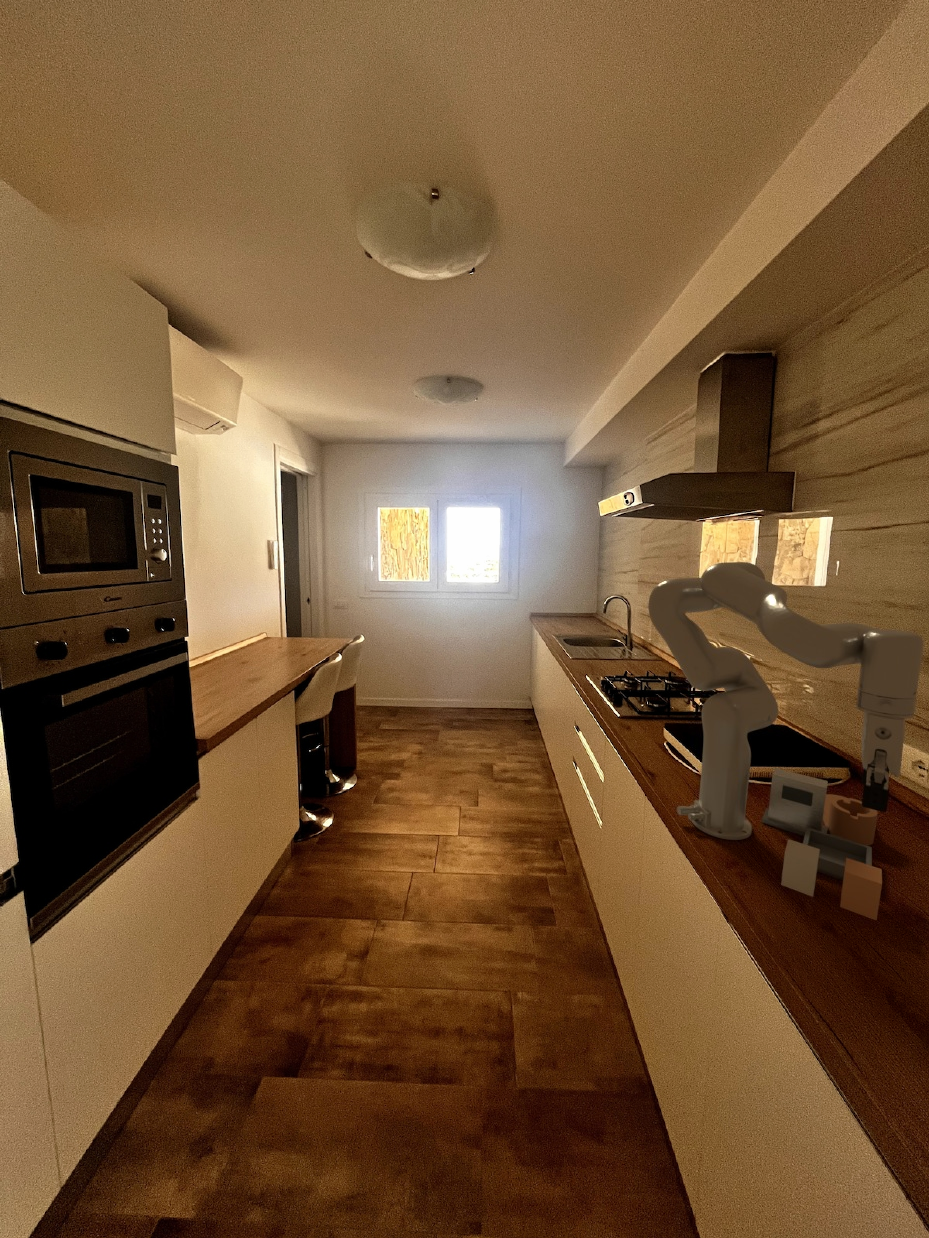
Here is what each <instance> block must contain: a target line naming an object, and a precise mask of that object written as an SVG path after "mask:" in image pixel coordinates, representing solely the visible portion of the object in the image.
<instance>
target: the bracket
mask: <svg viewBox="0 0 929 1238" xmlns="http://www.w3.org/2000/svg"><path fill="white" fill-rule="evenodd" d="M878 812H879V811H877V810H873V809H869V808H865V807H863V806H862V800H859V799H855V798H851V797H849V798H848V797H846V796H842V795H838V794H832V793H831V794H830V793H829V794H828V793H826V799H825V807H824V815H823V823H824V824H823V825H825V826H828V828H827V833H828V834H830V835H833V836H837V837H840V838H843V839H847V840H850V841H853V842H856V843H860V844H863V845H866V846H872V845H873V844H874V841H875V835H876V828H877V827H876V826H877V821H878V820H877V819H878Z"/></svg>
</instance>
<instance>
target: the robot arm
mask: <svg viewBox="0 0 929 1238" xmlns="http://www.w3.org/2000/svg"><path fill="white" fill-rule="evenodd" d="M785 590H786V589H783V588H782V587H780V586H778V585H776V584H774V583H772V582H770V581H767V580H766V575H765V574H764V572H763V570H762V569H761V568H760V567H759V566H758V565H756V564H753V563H751V562H747V561H746V562H745V561H737V562H736V561H732V562H731V561H730V562H728V561H727V562H719V563H715V564H713V565H710V566H709V567H707V568H706V569H705V570H704V571H703V573H702V575H701V577H681V578H672V579H666V580H664V581H662V582H660V583H658V584H657V585H655V587H653V589H652V591H651V593H650V595H649V597H648V598H649V599H648V603H647V604H648V605H647V606H648V608H647V609H648V614H649V617H650V620H651V622H652V623H651V624H652V625H653V626H654V628H655V629H656V631H657V633H658V634H659V635H660V637H661V638H662V639H663V641H664V642H665V644H666V645H667V646H668V649H669V650H670V653H671V654H672V656H673V658H674V659H675V661H676V663H677V665H679V666H678V667H679V668H680V669H681V671H682V673H683V674H684V677H685V678H686V679H687V681H688V683H689V684H690V685H691V686H692V687H693V688H694V689H696V690H697V691H701V692H702V691H703V692H704V691H705V692H706V691H714V690H718V689H724V691H721V692H718V693H716V694H713V695H712V696H710V697H709V698H707V699H706V700H705V702H703V705H702V707H701V723H702V731H703V732H702V733H703V746H702V759H701V760H702V761H701V771H700V772H701V774H700V785H699V794H698V799H694V802H693V804H690V805H689V806H686V805H677V807H676V811H677V814H678V815H679V816H687V818H688V820H690V821H691V823H692V824H693V825H694V827H696V828H697V829H698V830H700V831H701V832H703V833H705V834H707V835H709V836H712V837H715V838H718V839H722V840H728V841H738V840H739V841H740V840H744V839H748V838H749V837H750V836H751V835H752V831H753V827H752V824H751V822H750V821H749V820H748V819H747V818H746V813H747V811H746V809H747V802H748V801H747V800H748V792H749V791H748V790H749V782H750V772H751V771H750V770H751V762H752V761H751V760H752V752H751V746H750V744H749V741H748V733H751V732H753V731H757V730H760V729H764V728H767V727H769V726H771V725H772V724H774V723H775V721H776V720H777V718H778V716H779V705H778V701H777V700H776V697H775V695H774V694H773V692H772V690H771V689H770V688H769V686H768V684H766V681H765V680H764V678H763V677H762V676H761V674H760V672H759V671H758V669H757V668H756V667H755V664H754V663H753V662H752V661H751V659H750V658H749V657H748V656H747V654H745V653H744V652H743V651H741V650H740V649H737V648H735V647H731V646H719V647H714V646H713V644H712V643H711V642H710V640H709V639H708V637H707V636H706V634H705V632H704V631H703V630H702V628H701V627H700V625H698V624H697V623H696V622H694V621H693V620H692V619H690V618H689V617H688V616H687V614H689V613H691V614H692V613H702V612H708V611H714V610H717V609H720V608H723V607H726V608H728V609H729V610H731V611H733V612H735V613H736V614H738V615H740V616H742V617H743V618H745V619H747V620H749V622H752V623H753V624H754V625H756V626H757V629H758V630H759V632H760V633H761V634H762V636H763V637H764V638H765V639H766V640H767V641H768V642H769V643H770V644H771V645H772V646H773V647H774V648H776V649H778V650H779V651H781V652H783V653H784V654H786V655H788V656H790V657H791V658H793V659H795V660H796V661H798V662H800V663H802V664H804V665H807V666H810V667H813V668H817V669H831V668H835V667H840V666H841V667H842V666H848V665H855V664H859V665H860V669H859V678H858V687H857V695H856V704H855V708H856V709H858V710H859V711H861V712H864V713H863V722H862V732H861V760H862V768H863V769H862V771H863V772H862V779H861V784H862V785H863V788H862V796H861V797H862V799H861V801H862V806H863V807H865V808H869V809H873V810H877V812H882V813H886V812H887V810H888V803H889V797H890V796H889V795H890V788H889V781H890V779H889V777H890V775H893V776H894V777H896V778H898V777H900V776H901V770H902V769H901V768H902V760H903V759H902V758H903V752H904V750H903V749H904V743H905V731H906V719H912V718H914V716H915V710H916V704H917V703H916V702H917V696H918V695H917V694H918V688H919V680H920V672H921V665H922V657H923V651H924V640H923V638H922V637H921V635H919V634H918V633H914V632H910V631H906V630H896V629H880V628H876V627H872V626H868V625H863V624H859V623H856V622H855V623H854V622H839V623H830V624H829V623H828V624H823V625H822V624H818V623H817V622H814V621H812V620H810V619H808V618H806V617H804V616H802V615H800V614H798V613H797V612H795V611H794V610H792V609H790V608H789V606H787V601H788V594H787V592H786V591H785Z"/></svg>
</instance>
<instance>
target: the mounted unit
mask: <svg viewBox="0 0 929 1238" xmlns="http://www.w3.org/2000/svg"><path fill="white" fill-rule="evenodd" d="M771 776H772V778H771V787H770V794H769V802H768V803H769V804H768V807H766V808H765V811H764V813H763V815H762V817H761V824H764V825H767V826H769V827H770V826H771V827H775V828H777V829H781V830H782V831H787V832H790V833H793V834H796V835H800V836H802V837H804V836H805V832H806V828H811V829H814V830H817V831H820V832H824V833H827V834H828V831H827V828H828V826H825V824H823V823H824V821H823V815H824V807H825V799H826V794H827V789H828V783H829V782H828V780H824V779H820V778H817V777H813V776H808V775H804V774H800V773H797V772H794V771H789V770H785V769H781V768H777V767H774V770H773V773H772V775H771Z"/></svg>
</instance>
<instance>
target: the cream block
mask: <svg viewBox="0 0 929 1238" xmlns="http://www.w3.org/2000/svg"><path fill="white" fill-rule="evenodd" d="M819 851H820V849H817V848H814V847H811V846H808V845H805V844H803V842H802V843H801V842H799V841H796V840H793V839H787V843H786V847H785V850H784V856H783V857H784V858H783V865H782V867H783V868H782V874H781V882H780V883H781V886H783V887H786V888H789V889H791V890H794V891H796V892H799V893H802V894H805V895H807V896H809V897H814V895H815V894H814V893H815V887H816V881H817V880H816V879H817V873H818V872H817V866H818V858H819Z"/></svg>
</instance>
